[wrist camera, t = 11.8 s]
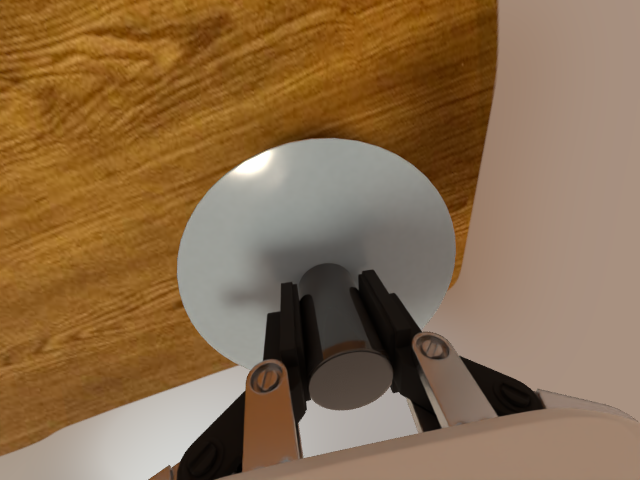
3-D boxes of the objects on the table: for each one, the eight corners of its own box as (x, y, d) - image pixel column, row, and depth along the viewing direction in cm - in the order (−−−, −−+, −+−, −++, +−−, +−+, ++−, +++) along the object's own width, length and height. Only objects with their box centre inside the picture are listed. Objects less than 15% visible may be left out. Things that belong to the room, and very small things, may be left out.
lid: (461, 122, 12) (654, 113, 6) (429, 344, 18) (504, 453, 12) (138, 155, 10) (-68, 189, 4) (225, 381, 17) (192, 525, 11)
